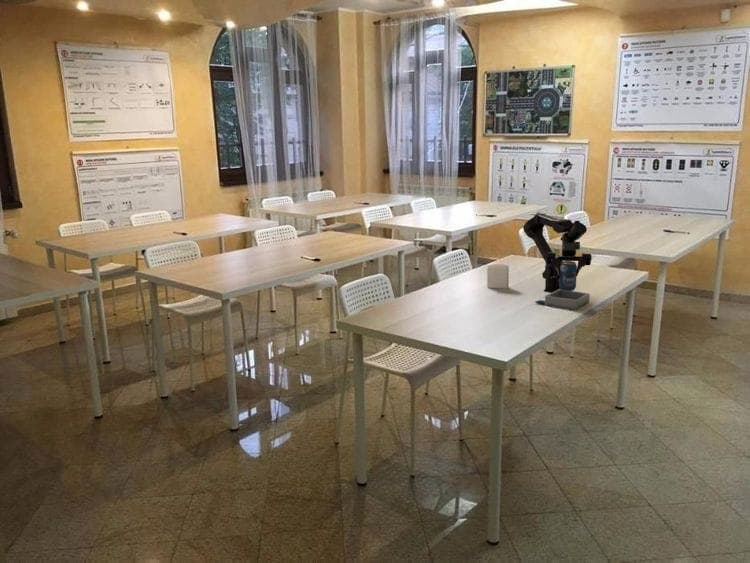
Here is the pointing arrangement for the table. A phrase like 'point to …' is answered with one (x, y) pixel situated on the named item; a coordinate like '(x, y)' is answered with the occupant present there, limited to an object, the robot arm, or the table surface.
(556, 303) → the tray
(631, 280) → the table surface
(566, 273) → the soda can
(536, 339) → the table surface
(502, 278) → the photo printer
